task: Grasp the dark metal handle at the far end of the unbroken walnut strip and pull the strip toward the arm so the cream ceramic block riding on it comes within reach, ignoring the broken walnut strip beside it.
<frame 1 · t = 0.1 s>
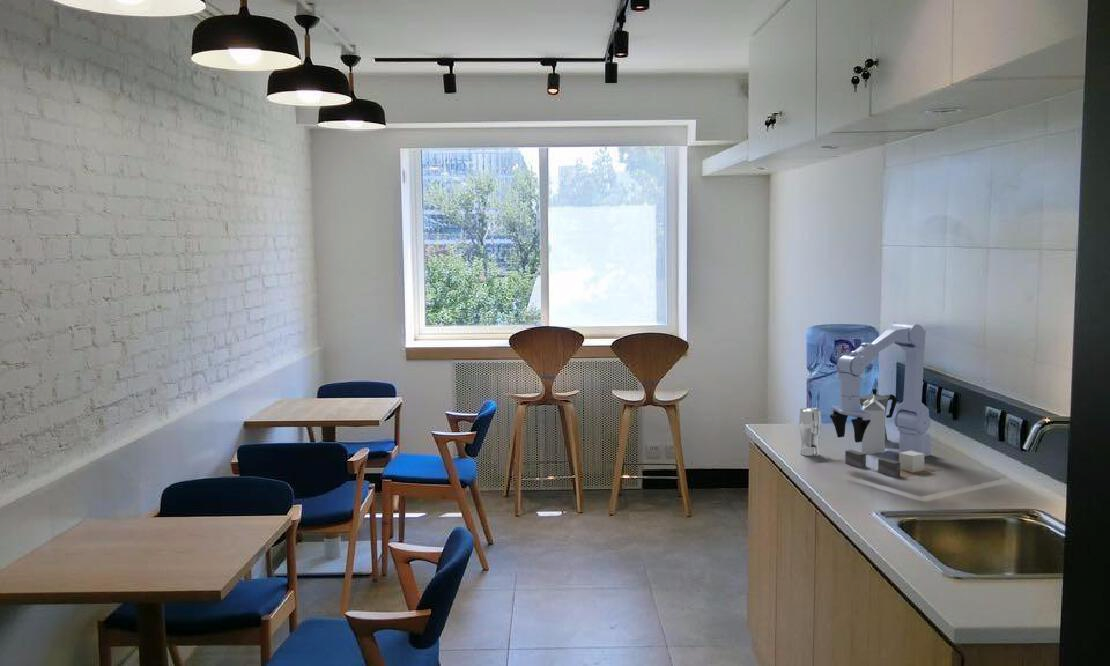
hand: (849, 439, 272), 10 cm above the worktop, fingers open, 7 cm apart
milk carton: (872, 454, 295), on the worktop
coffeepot: (876, 439, 315), on the worktop
ceramic block: (911, 469, 269), point 1 cm above the worktop, touching walnut strip
walnut strip: (906, 465, 268), point 3 cm above the worktop, slide at 0.0 cm, touching ceramic block
silver drinking tumbler: (809, 455, 295), on the worktop
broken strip: (872, 465, 280), on the worktop
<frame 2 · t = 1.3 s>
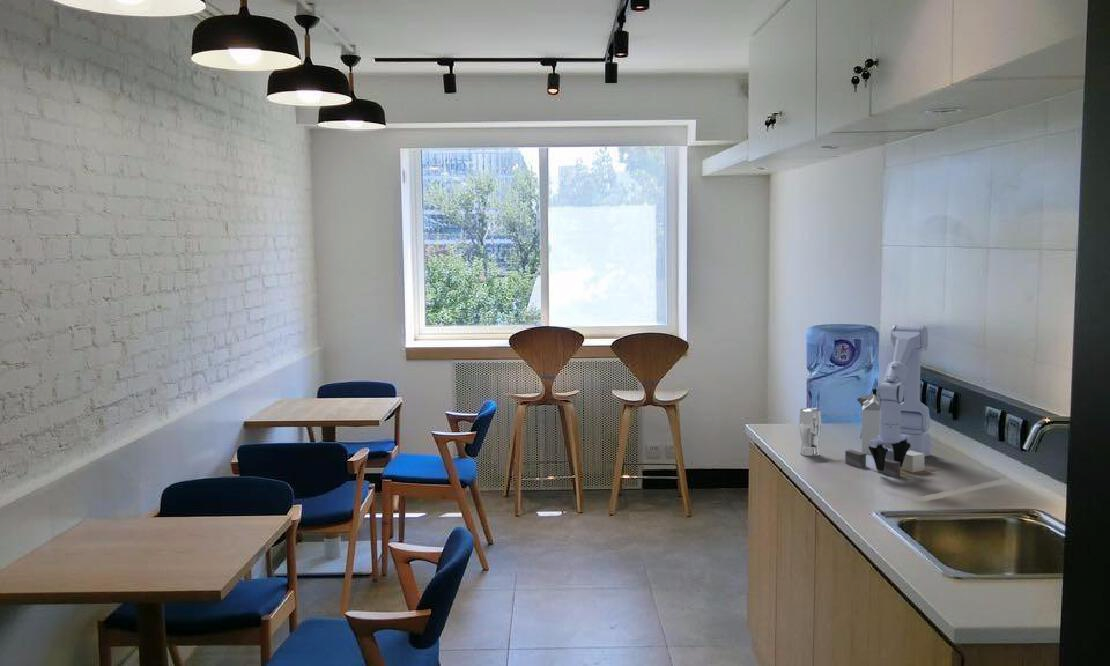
hand: (889, 468, 264), 3 cm above the worktop, fingers open, 7 cm apart
nothing on the worktop moved.
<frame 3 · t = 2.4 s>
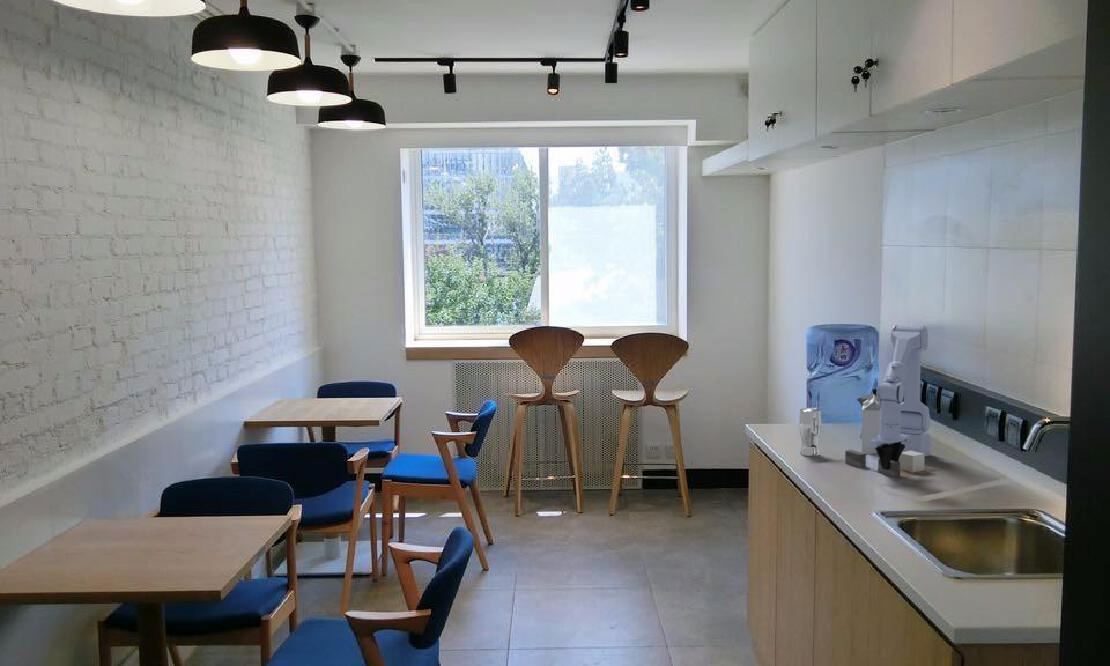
hand: (889, 468, 264), 3 cm above the worktop, fingers closed on walnut strip, 2 cm apart
walnut strip: (906, 465, 268), point 3 cm above the worktop, slide at 0.0 cm, touching ceramic block, gripper
everything else where it was.
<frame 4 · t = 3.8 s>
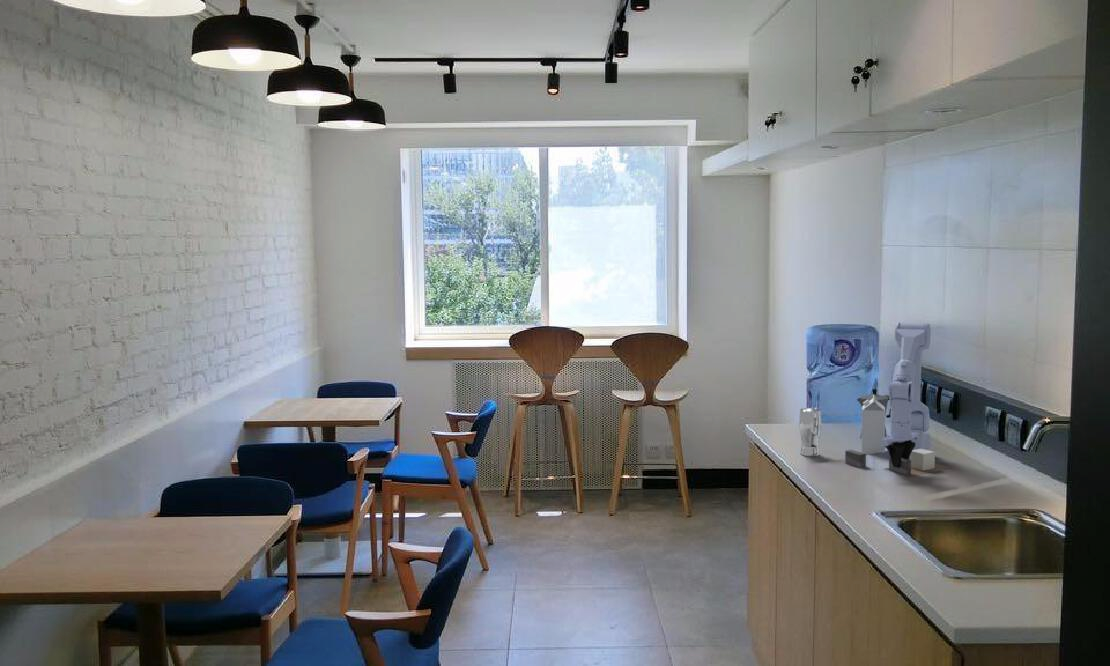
hand: (899, 466, 267), 3 cm above the worktop, fingers closed on walnut strip, 2 cm apart
ceramic block: (921, 467, 271), point 1 cm above the worktop, touching walnut strip
walnut strip: (917, 463, 270), point 3 cm above the worktop, slide at 4.5 cm, touching ceramic block, gripper
everything else where it was.
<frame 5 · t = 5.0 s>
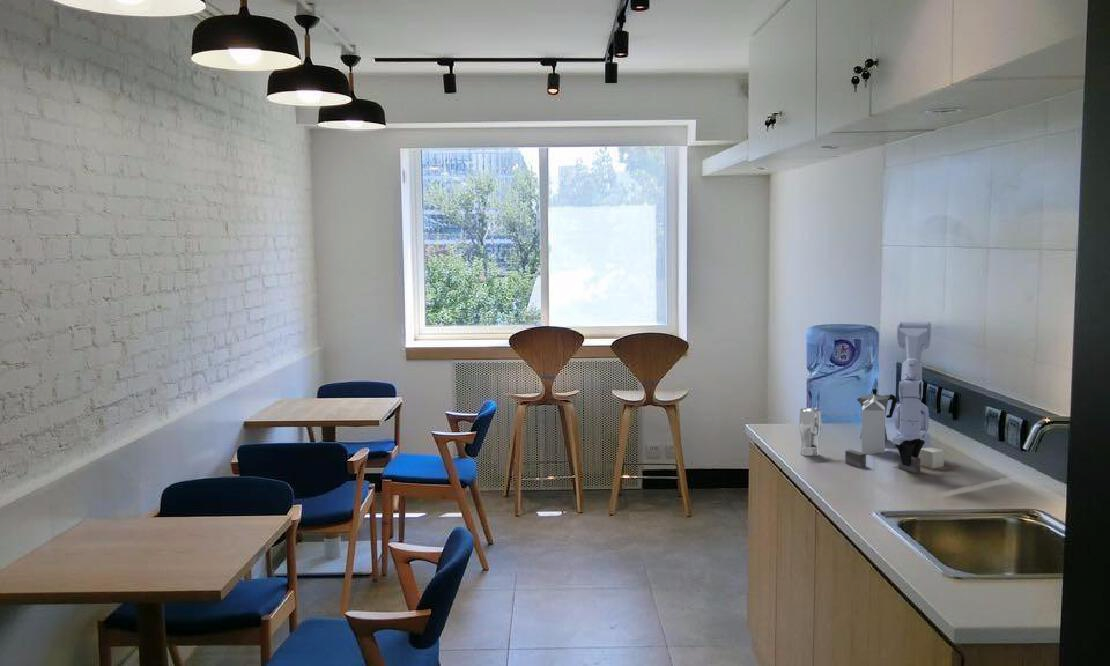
hand: (909, 464, 268), 3 cm above the worktop, fingers closed on walnut strip, 3 cm apart
ceramic block: (930, 465, 273), point 1 cm above the worktop, touching walnut strip
walnut strip: (926, 462, 272), point 3 cm above the worktop, slide at 8.5 cm, touching ceramic block, gripper
everything else where it was.
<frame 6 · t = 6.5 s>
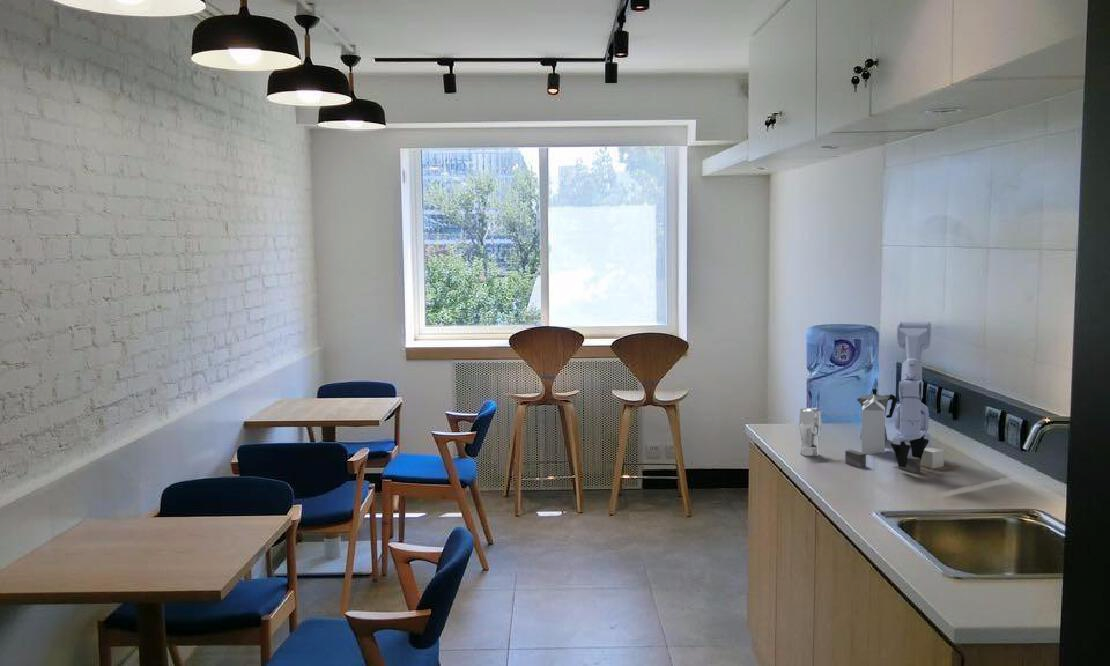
hand: (909, 464, 268), 3 cm above the worktop, fingers open, 7 cm apart
walnut strip: (926, 462, 272), point 3 cm above the worktop, slide at 8.5 cm, touching ceramic block
everything else where it was.
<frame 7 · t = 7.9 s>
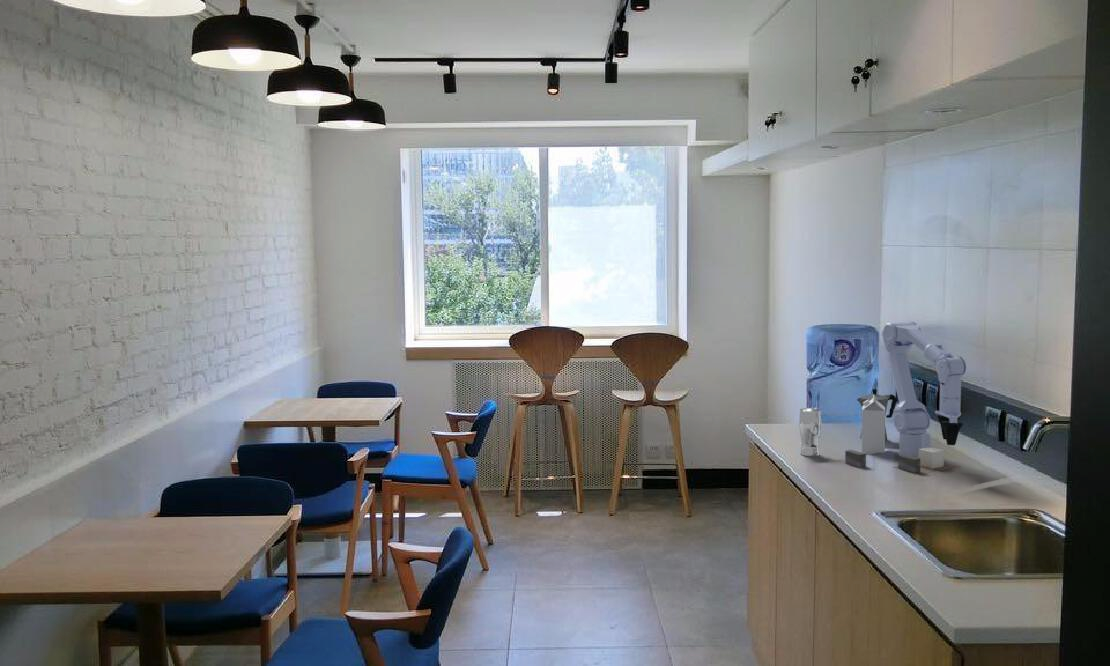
hand: (949, 442, 268), 9 cm above the worktop, fingers open, 7 cm apart
nothing on the worktop moved.
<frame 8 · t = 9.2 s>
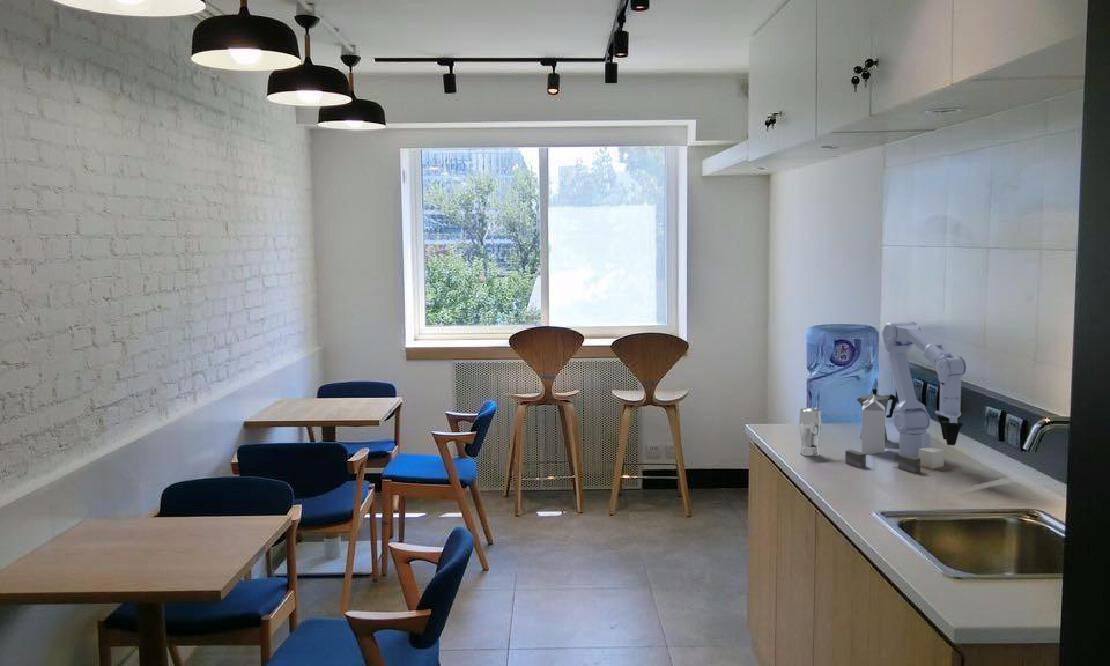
hand: (949, 442, 268), 9 cm above the worktop, fingers open, 7 cm apart
nothing on the worktop moved.
at the end: walnut strip slide at 8.5 cm; ceramic block 0.5 cm from the target spot, point 1.3 cm above the worktop; ceramic block tilted 0° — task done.
